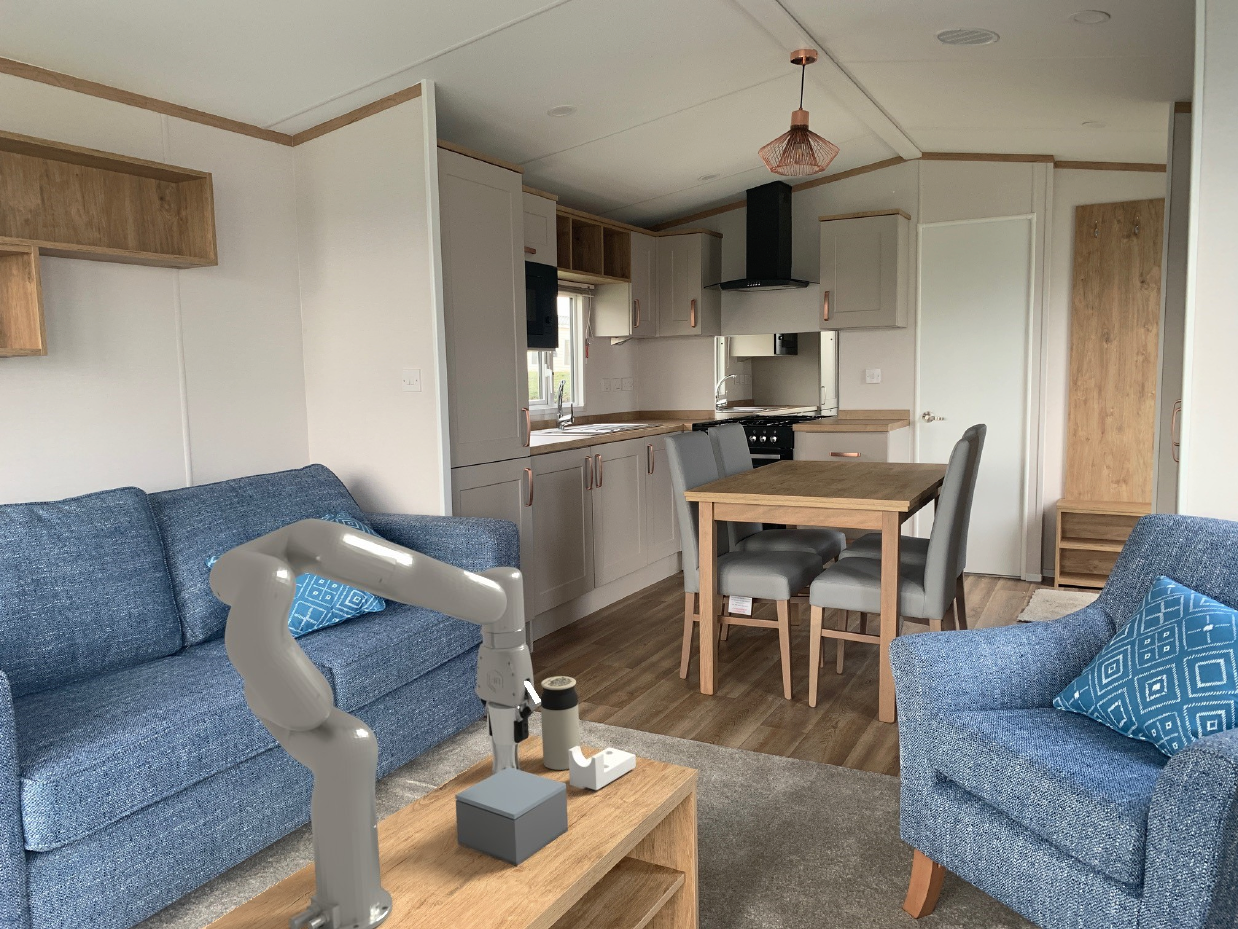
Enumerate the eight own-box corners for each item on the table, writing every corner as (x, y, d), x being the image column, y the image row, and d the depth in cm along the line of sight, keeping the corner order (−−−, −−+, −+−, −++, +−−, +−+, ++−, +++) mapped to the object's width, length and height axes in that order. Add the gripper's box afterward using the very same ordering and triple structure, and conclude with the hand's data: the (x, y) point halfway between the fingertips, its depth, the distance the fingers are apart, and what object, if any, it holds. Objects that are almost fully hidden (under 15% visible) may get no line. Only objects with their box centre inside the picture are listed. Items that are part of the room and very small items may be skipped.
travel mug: (587, 759, 189) (584, 678, 187) (567, 774, 182) (564, 690, 180) (556, 752, 193) (553, 673, 191) (536, 767, 186) (532, 685, 184)
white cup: (533, 732, 158) (531, 695, 157) (521, 748, 151) (519, 709, 151) (498, 730, 160) (496, 693, 159) (484, 746, 153) (481, 707, 152)
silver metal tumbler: (509, 763, 188) (506, 696, 187) (529, 772, 183) (526, 703, 182) (483, 774, 183) (479, 705, 182) (503, 784, 178) (499, 713, 177)
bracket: (596, 795, 173) (595, 758, 172) (570, 786, 177) (568, 750, 177) (636, 771, 183) (634, 736, 182) (609, 763, 187) (608, 729, 187)
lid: (514, 819, 147) (514, 814, 146) (455, 799, 155) (455, 795, 154) (566, 788, 158) (566, 784, 158) (508, 771, 166) (508, 767, 166)
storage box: (516, 866, 147) (514, 821, 147) (457, 844, 155) (455, 800, 155) (568, 830, 159) (566, 788, 158) (510, 811, 167) (508, 771, 166)
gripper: (454, 636, 156) (459, 734, 157) (526, 650, 146) (531, 754, 147) (483, 626, 162) (488, 720, 163) (555, 638, 152) (559, 739, 154)
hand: (509, 735), depth 155 cm, fingers closed on white cup, 5 cm apart
